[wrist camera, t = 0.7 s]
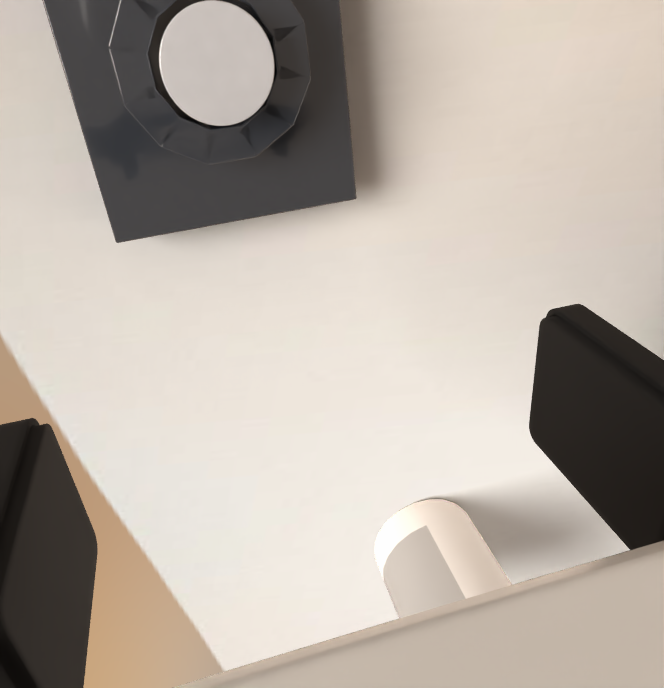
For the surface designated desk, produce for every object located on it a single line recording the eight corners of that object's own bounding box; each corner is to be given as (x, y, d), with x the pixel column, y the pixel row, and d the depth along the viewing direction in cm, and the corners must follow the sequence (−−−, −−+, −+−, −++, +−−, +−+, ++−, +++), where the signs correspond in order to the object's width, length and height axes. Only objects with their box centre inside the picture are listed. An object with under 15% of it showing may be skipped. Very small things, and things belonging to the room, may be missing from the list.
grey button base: (14, -125, 19) (-16, -156, 16) (310, -149, 21) (340, -181, 18) (119, 227, 25) (113, 259, 22) (342, 186, 27) (370, 211, 24)
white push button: (146, 8, 19) (145, 7, 17) (256, -5, 20) (265, -7, 18) (173, 126, 21) (174, 134, 19) (273, 110, 21) (282, 117, 20)
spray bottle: (363, 519, 37) (506, 863, 22) (462, 482, 38) (666, 789, 23) (382, 585, 41) (517, 921, 26) (472, 550, 42) (655, 857, 26)
